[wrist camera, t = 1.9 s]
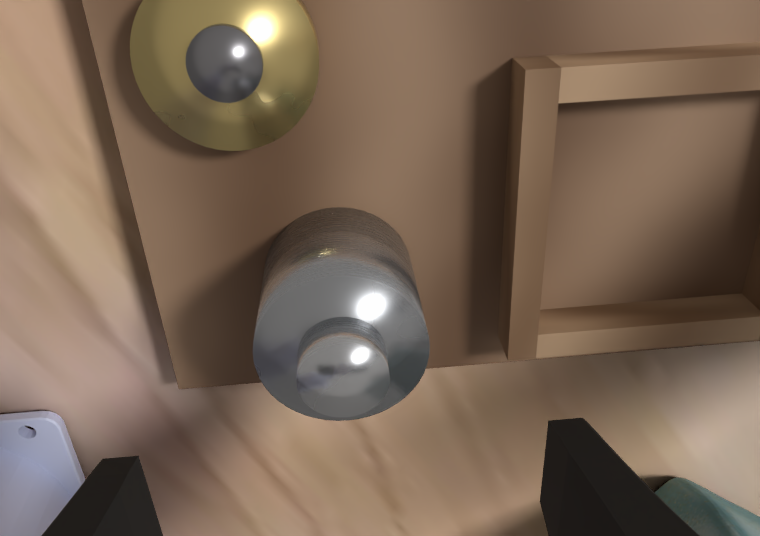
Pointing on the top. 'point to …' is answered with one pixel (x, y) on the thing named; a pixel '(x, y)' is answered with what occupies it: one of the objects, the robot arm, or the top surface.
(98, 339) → the top surface
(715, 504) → the flower pot
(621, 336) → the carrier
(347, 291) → the silver knobbed cylinder
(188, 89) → the brass domed disc
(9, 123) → the top surface
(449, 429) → the top surface
